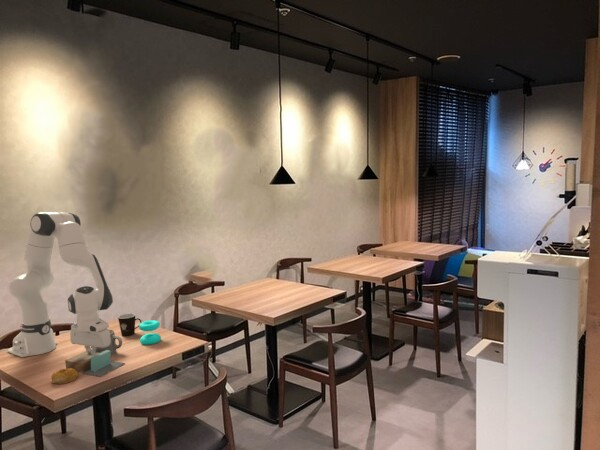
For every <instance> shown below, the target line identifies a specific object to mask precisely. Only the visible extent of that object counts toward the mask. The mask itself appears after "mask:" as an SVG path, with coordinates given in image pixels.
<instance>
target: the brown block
mask: <svg viewBox="0 0 600 450" xmlns="http://www.w3.org/2000/svg"><path fill="white" fill-rule="evenodd" d="M97 354H99V352H95V355H97ZM95 355H94V356H95ZM91 357H93V356H91V355H87V351H86V350H85V351H84V352H80V354H77V355H75V356H72V357H70V358H68V359H66V360H64V363H65V369H68V368H72V369H75V370H76V371H77V373H78V372H79V373H83V372H85V371H87V370H89V369H91Z"/></svg>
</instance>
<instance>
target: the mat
mask: <svg viewBox="0 0 600 450" xmlns="http://www.w3.org/2000/svg"><path fill="white" fill-rule="evenodd" d="M125 364H126V363H125V362H121V361H114V360H110V364H109V365H107V366H105V367H103V368H101V369H99V370H97V371H95V372H94V371H91V369H89V370H87V371H85V372H82V375H89V376H93V377H97V378H98V377H99V378H101V377H103V376H105V375H107V374H108V373H111V372H113V371H114V370H117V369H118V368H120V367H122V366H124V365H125Z"/></svg>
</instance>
